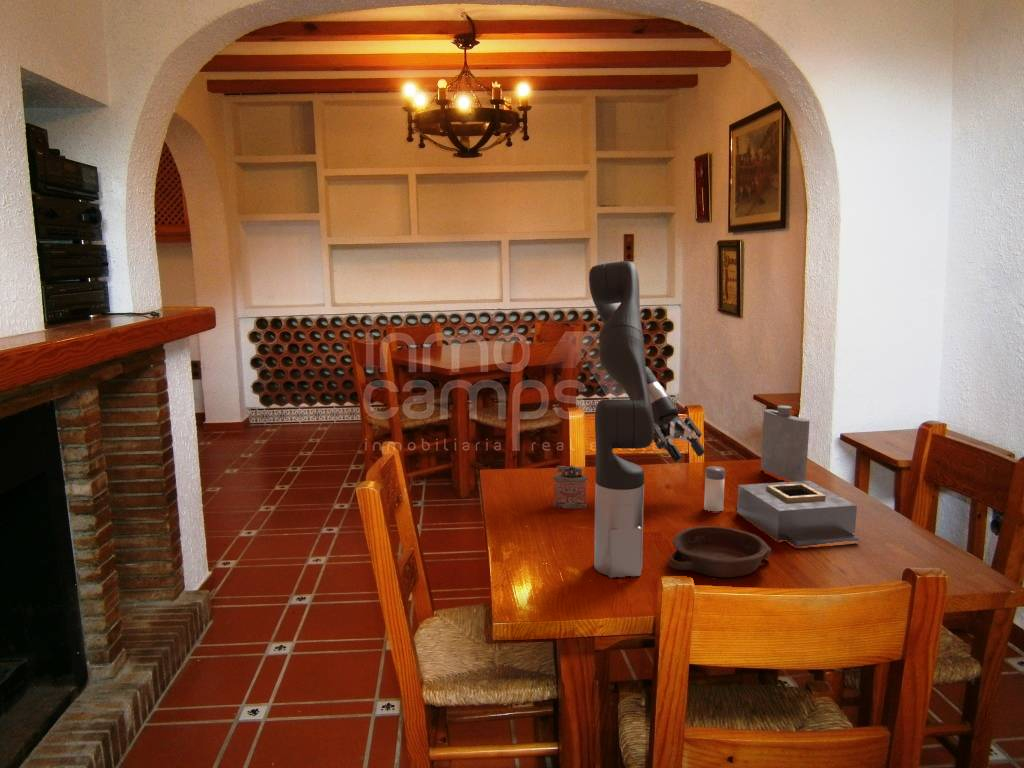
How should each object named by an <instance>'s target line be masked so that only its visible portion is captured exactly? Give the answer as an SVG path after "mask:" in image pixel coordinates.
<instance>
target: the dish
mask: <svg viewBox="0 0 1024 768" xmlns="http://www.w3.org/2000/svg"><path fill="white" fill-rule="evenodd" d="M672 545H673V547H674V548H675V550H676V551H675V552H673V553H672V554H671V555H670V556H669V566H670V567H671V568H672V569H674V570H679V571H693V572H695V573H699V574H700V575H701V574H702V575H705V576H708V577H709V576H710V577H715V578H735V577H743V576H747V575H749V574H752V573H754V572H755V571H757V570H758V568H760V565H761V562H762V560H765V559H768V558H769V557H771V552H772V548H771V547H770V546H769V545H768V544H767V543H766V541H764V540H763V539H762V538H761V537H760V536H758V535H757V534H753V533H751V532H748V531H744V530H742V529H741V530H740V529H736V528H731V527H726V526H725V527H724V526H712V525H711V526H710V525H709V526H707V525H706V526H704V525H703V526H693V527H689V528H685V529H682V530H680V531H679V532H676V534H675V535H674V536H673V539H672Z"/></svg>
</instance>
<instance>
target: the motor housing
mask: <svg viewBox="0 0 1024 768" xmlns="http://www.w3.org/2000/svg"><path fill="white" fill-rule="evenodd" d="M737 490H738V491H737V501H736V503H737V504H736V509H737V510H736V512H738V513H739V514H740V515H742V516H743V517H745V518H746V519H748V520H749V521H750V522H752V523H753V524H754V525H756V526H757V527H759V528H760V529H762V530H763V531H764V532H766V533H767V534H769V535H770V536H772V537H773V538H774V539H776V540H777V541H780V540H787V541H788V542H790V543H791V544H793V545H794V546H796V547H802V546H809V545H817V544H826V543H834V542H843V541H858V542H859V537H858V536H857V535H853V534H852V533H856V522H857V521H856V520H857V510H858V509H857V508H858V505H857V504H855V503H853V502H851V501H850V500H847V499H845V498H843V497H842V496H840V495H837V494H836V493H834V492H832V491H831V490H828V489H826V488H824V487H822V486H820V485H818V484H817V483H815V482H813V481H810V480H806V481H795V482H783V481H780V482H766V483H765V482H764V483H752V484H751V483H750V484H738V489H737ZM740 515H739V516H740ZM754 525H753V526H754Z"/></svg>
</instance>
